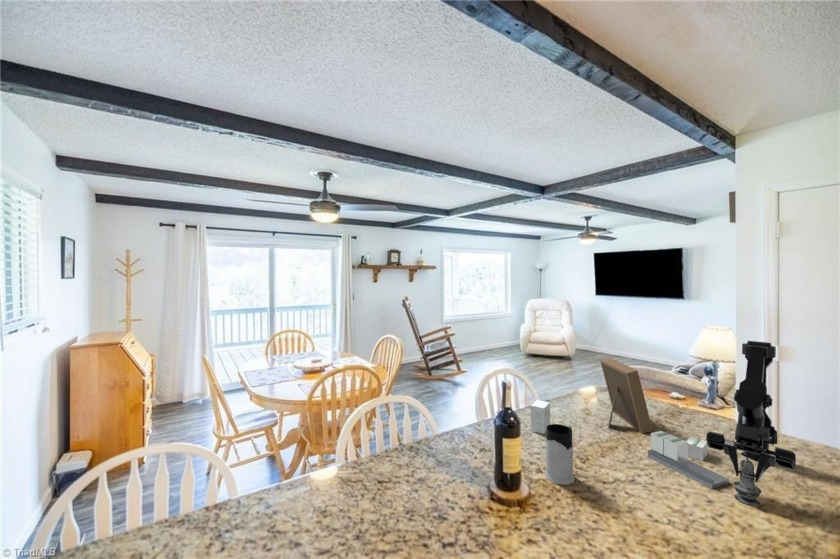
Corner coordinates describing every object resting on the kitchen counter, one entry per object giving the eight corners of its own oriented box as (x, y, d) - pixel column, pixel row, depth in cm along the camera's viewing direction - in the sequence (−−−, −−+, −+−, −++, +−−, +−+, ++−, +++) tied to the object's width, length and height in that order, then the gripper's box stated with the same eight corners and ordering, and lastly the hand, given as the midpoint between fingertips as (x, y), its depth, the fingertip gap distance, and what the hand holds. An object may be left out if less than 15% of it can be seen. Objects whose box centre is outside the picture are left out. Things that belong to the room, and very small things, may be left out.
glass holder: (539, 477, 114) (539, 429, 114) (558, 459, 124) (558, 416, 124) (568, 488, 108) (567, 437, 108) (585, 469, 118) (584, 423, 118)
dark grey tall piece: (767, 508, 98) (767, 463, 98) (741, 505, 99) (741, 461, 99) (751, 494, 104) (752, 453, 103) (728, 492, 105) (728, 451, 105)
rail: (664, 452, 128) (664, 428, 128) (729, 482, 110) (729, 454, 109) (647, 457, 125) (647, 432, 125) (712, 488, 107) (712, 460, 107)
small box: (537, 424, 153) (536, 399, 153) (550, 427, 150) (550, 402, 150) (530, 431, 147) (530, 405, 147) (544, 434, 144) (544, 408, 143)
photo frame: (622, 412, 165) (622, 357, 165) (652, 433, 144) (652, 370, 143) (589, 412, 165) (589, 358, 165) (614, 434, 144) (613, 371, 143)
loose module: (690, 449, 131) (690, 435, 131) (707, 454, 127) (707, 440, 127) (684, 455, 126) (684, 441, 126) (702, 461, 123) (702, 447, 123)
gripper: (707, 404, 110) (700, 453, 103) (795, 422, 97) (795, 480, 89) (711, 422, 116) (705, 470, 109) (795, 441, 103) (795, 497, 95)
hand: (746, 478), depth 100 cm, fingers closed on dark grey tall piece, 4 cm apart
